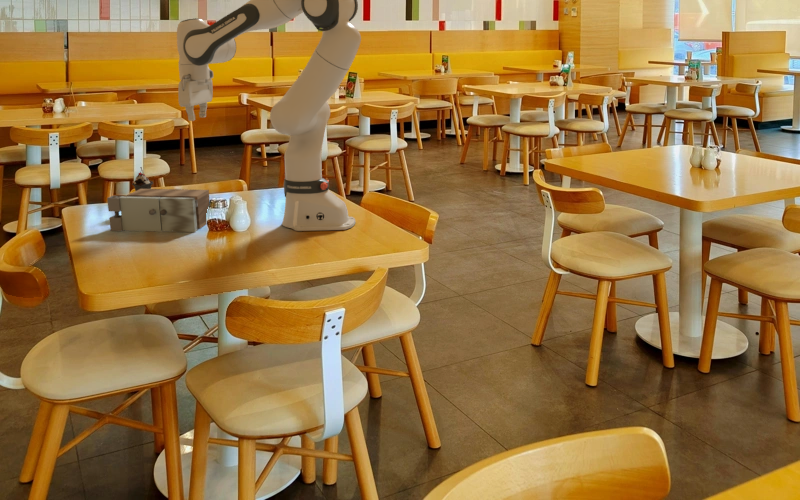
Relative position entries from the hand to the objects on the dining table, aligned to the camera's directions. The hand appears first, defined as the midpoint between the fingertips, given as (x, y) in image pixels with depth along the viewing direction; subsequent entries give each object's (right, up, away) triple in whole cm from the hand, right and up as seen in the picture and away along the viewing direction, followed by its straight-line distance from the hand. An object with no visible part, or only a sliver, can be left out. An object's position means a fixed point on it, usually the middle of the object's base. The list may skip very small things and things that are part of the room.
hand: (197, 118), depth 244 cm
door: (-16, -35, -9) cm, 39 cm away
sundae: (-21, -29, +13) cm, 38 cm away
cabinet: (-9, -34, -5) cm, 35 cm away
